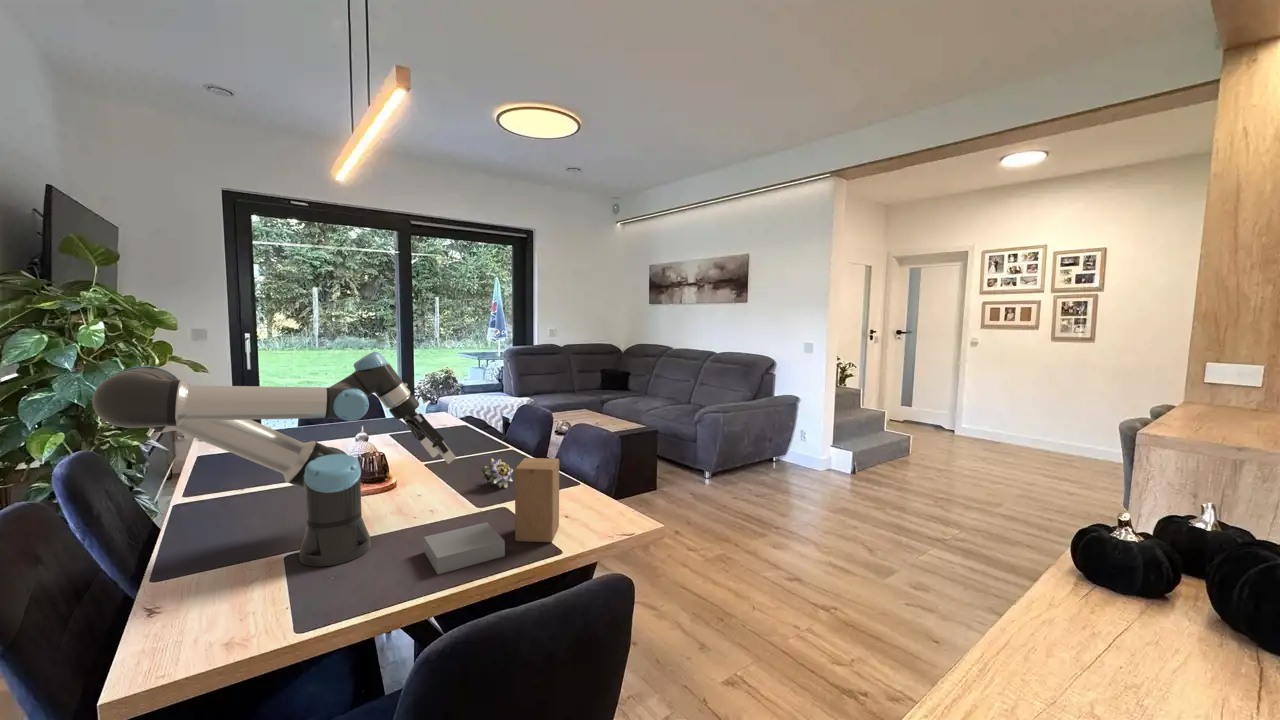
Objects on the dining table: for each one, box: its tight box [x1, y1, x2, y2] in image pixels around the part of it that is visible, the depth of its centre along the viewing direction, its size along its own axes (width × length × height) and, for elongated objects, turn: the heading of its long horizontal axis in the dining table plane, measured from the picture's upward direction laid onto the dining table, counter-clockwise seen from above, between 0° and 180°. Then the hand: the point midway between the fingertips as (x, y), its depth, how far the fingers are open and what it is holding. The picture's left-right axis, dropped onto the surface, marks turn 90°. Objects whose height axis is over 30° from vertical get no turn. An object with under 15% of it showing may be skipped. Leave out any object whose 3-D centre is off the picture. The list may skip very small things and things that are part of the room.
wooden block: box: [514, 457, 560, 543], centre depth 137 cm, size 10×10×20 cm
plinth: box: [423, 521, 506, 575], centre depth 126 cm, size 16×13×4 cm
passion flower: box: [481, 457, 514, 489], centre depth 175 cm, size 11×11×12 cm
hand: (444, 457), depth 151 cm, fingers open, 13 cm apart
